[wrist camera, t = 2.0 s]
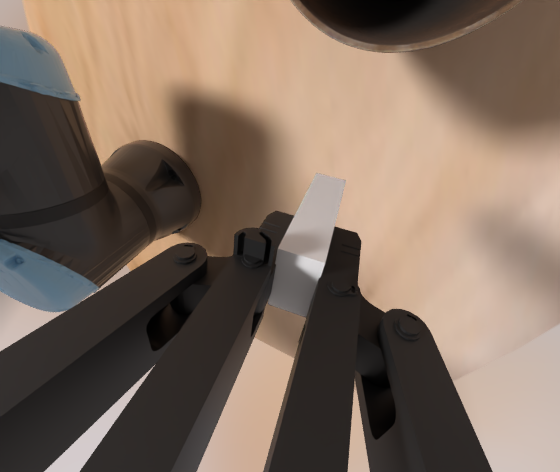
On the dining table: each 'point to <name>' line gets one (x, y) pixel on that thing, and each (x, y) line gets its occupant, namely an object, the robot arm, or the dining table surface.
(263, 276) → the robot arm
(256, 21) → the dining table surface
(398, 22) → the plant pot
